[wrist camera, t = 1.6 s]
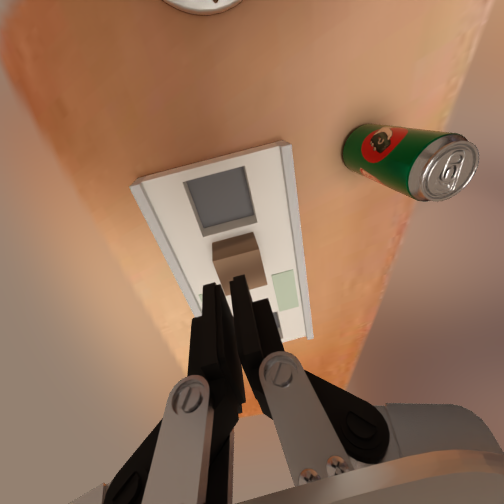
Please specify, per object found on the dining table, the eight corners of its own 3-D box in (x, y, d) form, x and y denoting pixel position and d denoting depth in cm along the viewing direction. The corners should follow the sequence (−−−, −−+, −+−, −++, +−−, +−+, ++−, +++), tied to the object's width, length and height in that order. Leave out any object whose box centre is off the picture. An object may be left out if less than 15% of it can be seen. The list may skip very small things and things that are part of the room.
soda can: (336, 171, 28) (406, 207, 18) (345, 123, 26) (434, 134, 16) (375, 170, 29) (464, 205, 19) (388, 123, 27) (499, 134, 16)
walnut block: (211, 242, 28) (212, 261, 25) (253, 231, 28) (259, 249, 25) (223, 275, 31) (225, 296, 27) (261, 265, 31) (267, 284, 27)
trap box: (137, 177, 25) (129, 186, 23) (282, 140, 26) (291, 144, 23) (218, 347, 42) (219, 364, 39) (306, 322, 42) (313, 338, 39)
